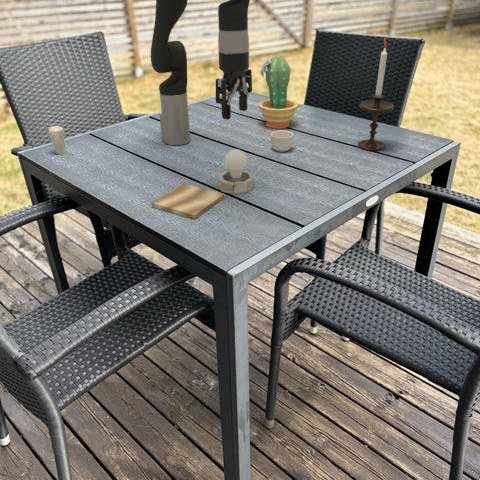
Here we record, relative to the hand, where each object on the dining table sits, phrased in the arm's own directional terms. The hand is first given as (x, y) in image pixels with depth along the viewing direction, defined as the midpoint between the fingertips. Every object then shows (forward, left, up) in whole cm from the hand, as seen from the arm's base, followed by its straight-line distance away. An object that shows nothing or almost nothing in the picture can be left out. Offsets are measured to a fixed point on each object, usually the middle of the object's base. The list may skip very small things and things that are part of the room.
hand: (235, 114), depth 123 cm
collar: (0, 0, -21) cm, 21 cm away
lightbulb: (0, 0, -21) cm, 21 cm away
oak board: (-6, -15, -21) cm, 26 cm away
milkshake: (-66, -6, -21) cm, 70 cm away
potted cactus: (-15, +56, -21) cm, 62 cm away
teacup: (-2, +34, -21) cm, 40 cm away
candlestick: (+24, +50, -21) cm, 59 cm away
